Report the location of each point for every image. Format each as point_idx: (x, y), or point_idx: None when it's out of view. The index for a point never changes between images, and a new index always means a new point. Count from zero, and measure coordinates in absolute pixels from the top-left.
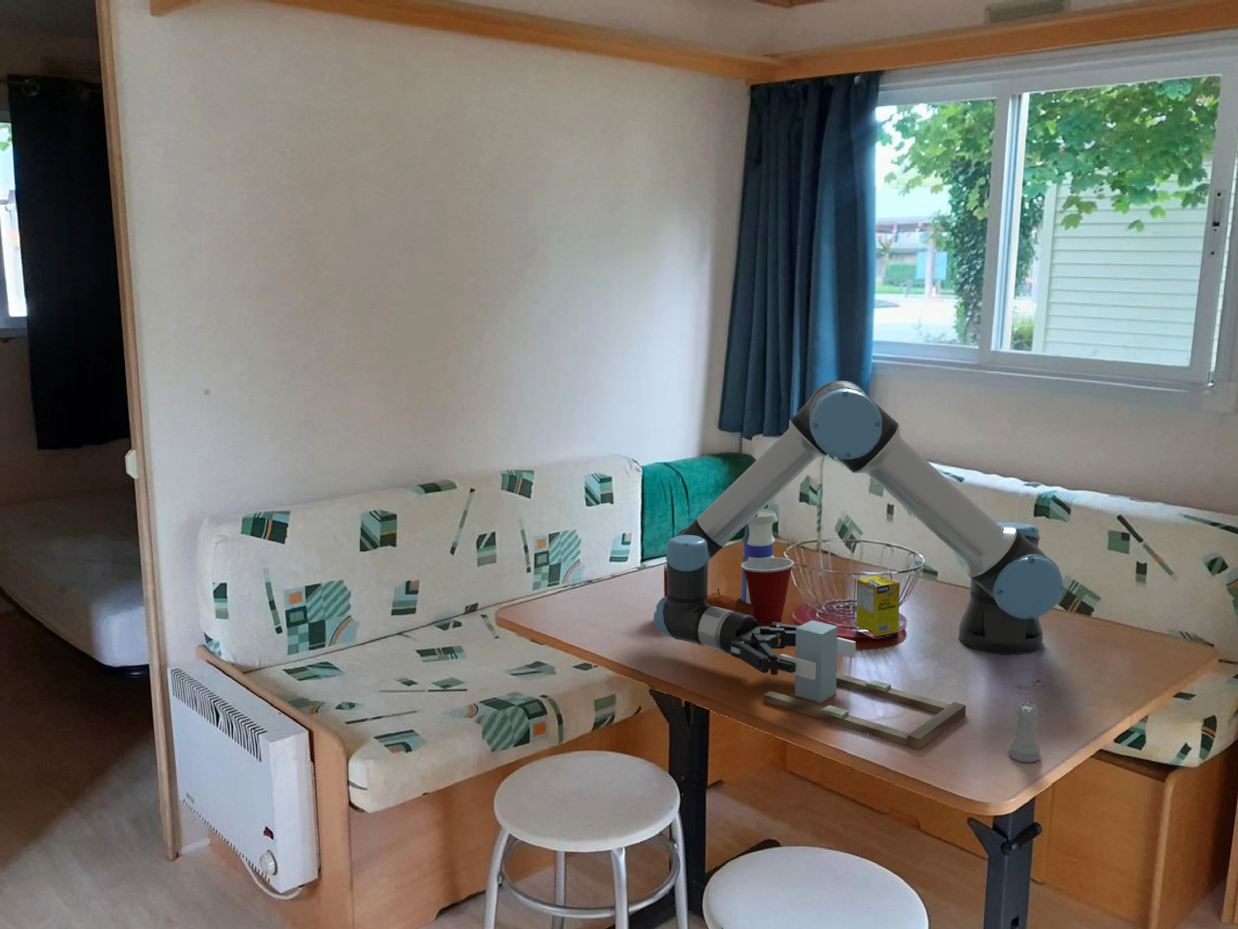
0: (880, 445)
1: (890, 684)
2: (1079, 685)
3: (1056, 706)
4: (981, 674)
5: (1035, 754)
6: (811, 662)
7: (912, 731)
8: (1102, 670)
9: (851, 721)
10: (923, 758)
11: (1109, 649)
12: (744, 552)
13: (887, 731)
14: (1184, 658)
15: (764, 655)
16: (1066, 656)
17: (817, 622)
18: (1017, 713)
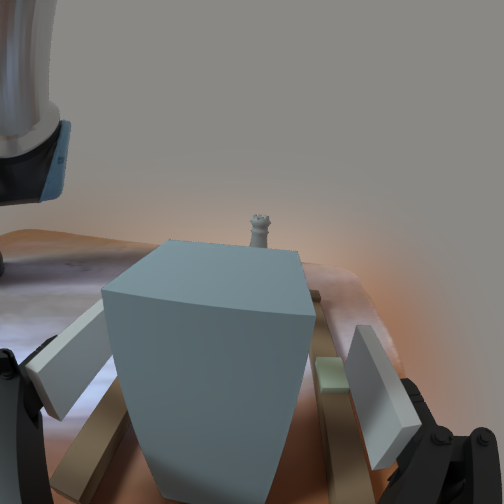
0: None
1: None
2: (78, 252)
3: (129, 258)
4: (49, 287)
5: None
6: (365, 331)
7: None
8: (48, 246)
9: (335, 351)
10: (329, 299)
11: (10, 245)
12: None
13: (321, 317)
14: (33, 232)
15: (473, 459)
16: (16, 255)
17: (137, 272)
18: (268, 223)
